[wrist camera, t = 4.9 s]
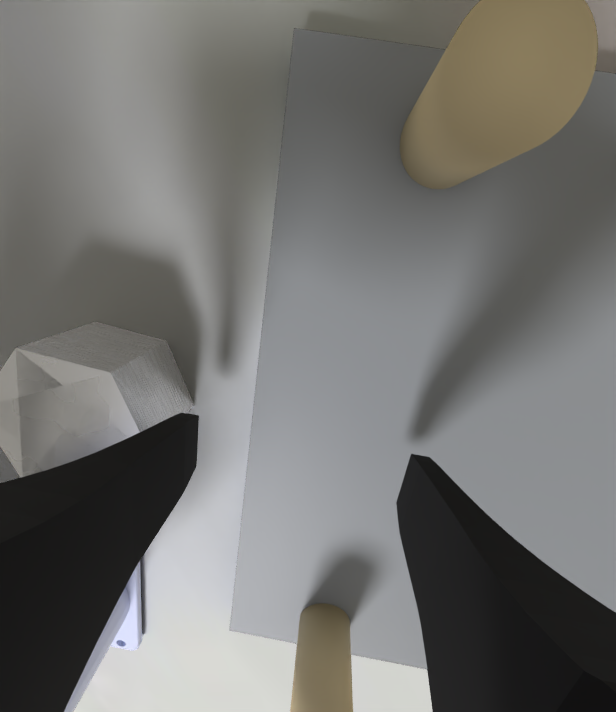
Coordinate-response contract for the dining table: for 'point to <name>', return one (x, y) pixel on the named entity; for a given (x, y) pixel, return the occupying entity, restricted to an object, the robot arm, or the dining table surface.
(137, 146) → the dining table surface
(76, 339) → the faceted star polyhedron
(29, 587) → the robot arm
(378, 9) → the dining table surface
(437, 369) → the board
